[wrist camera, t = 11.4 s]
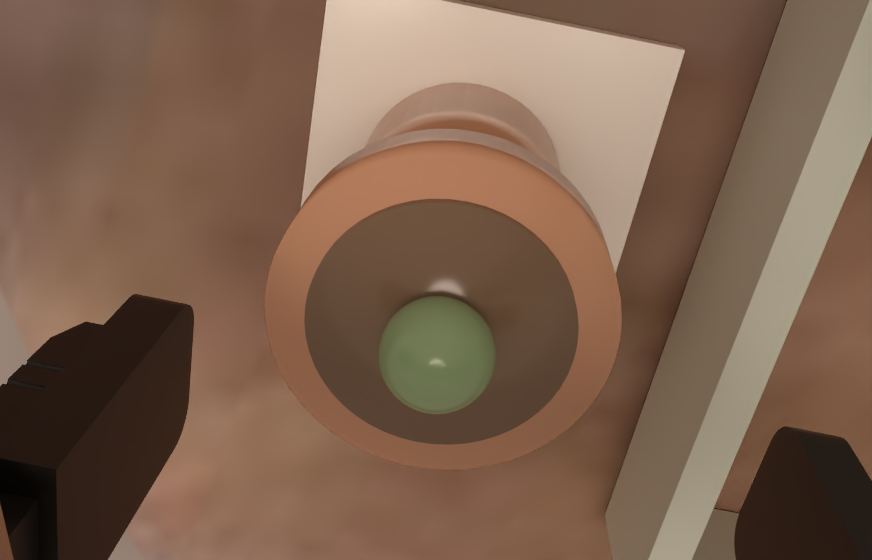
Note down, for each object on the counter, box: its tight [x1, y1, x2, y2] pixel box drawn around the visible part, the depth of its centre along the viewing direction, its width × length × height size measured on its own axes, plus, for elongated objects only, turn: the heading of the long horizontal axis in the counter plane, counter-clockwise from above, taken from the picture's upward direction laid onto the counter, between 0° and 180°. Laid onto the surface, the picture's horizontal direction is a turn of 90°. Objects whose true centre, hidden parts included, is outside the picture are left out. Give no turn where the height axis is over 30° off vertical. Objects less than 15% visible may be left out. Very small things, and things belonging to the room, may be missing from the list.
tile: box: [301, 0, 685, 274], centre depth 20 cm, size 8×8×1 cm
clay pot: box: [265, 83, 622, 470], centre depth 16 cm, size 6×6×9 cm
